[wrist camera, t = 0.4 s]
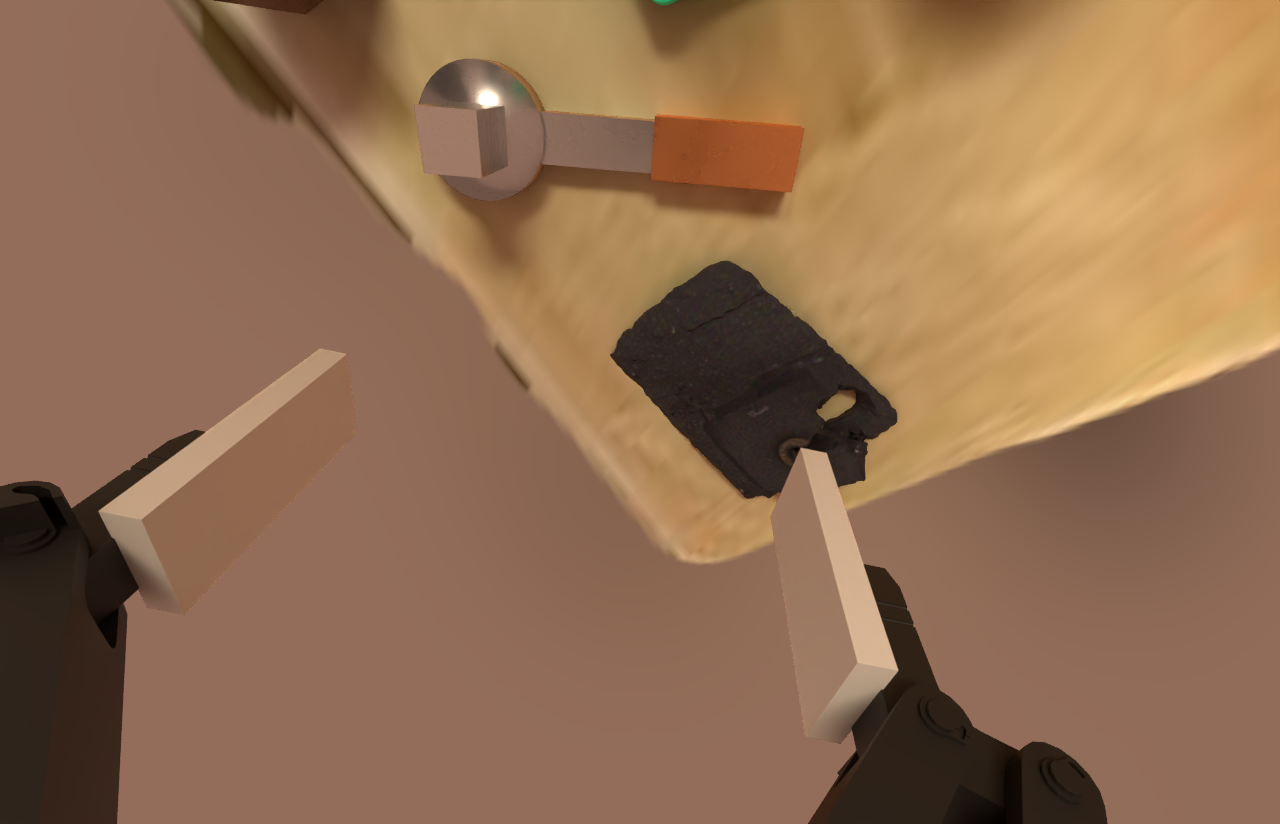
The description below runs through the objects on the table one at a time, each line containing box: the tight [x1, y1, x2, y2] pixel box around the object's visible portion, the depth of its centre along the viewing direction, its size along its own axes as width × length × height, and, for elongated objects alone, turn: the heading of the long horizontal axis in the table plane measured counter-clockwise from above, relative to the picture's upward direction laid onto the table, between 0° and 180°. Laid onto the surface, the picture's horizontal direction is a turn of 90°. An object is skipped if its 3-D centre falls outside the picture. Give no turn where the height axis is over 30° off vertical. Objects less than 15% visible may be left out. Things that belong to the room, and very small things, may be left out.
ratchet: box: [414, 59, 804, 201], centre depth 32 cm, size 24×8×7 cm, turn 86°
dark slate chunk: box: [610, 261, 897, 498], centre depth 43 cm, size 15×22×5 cm
